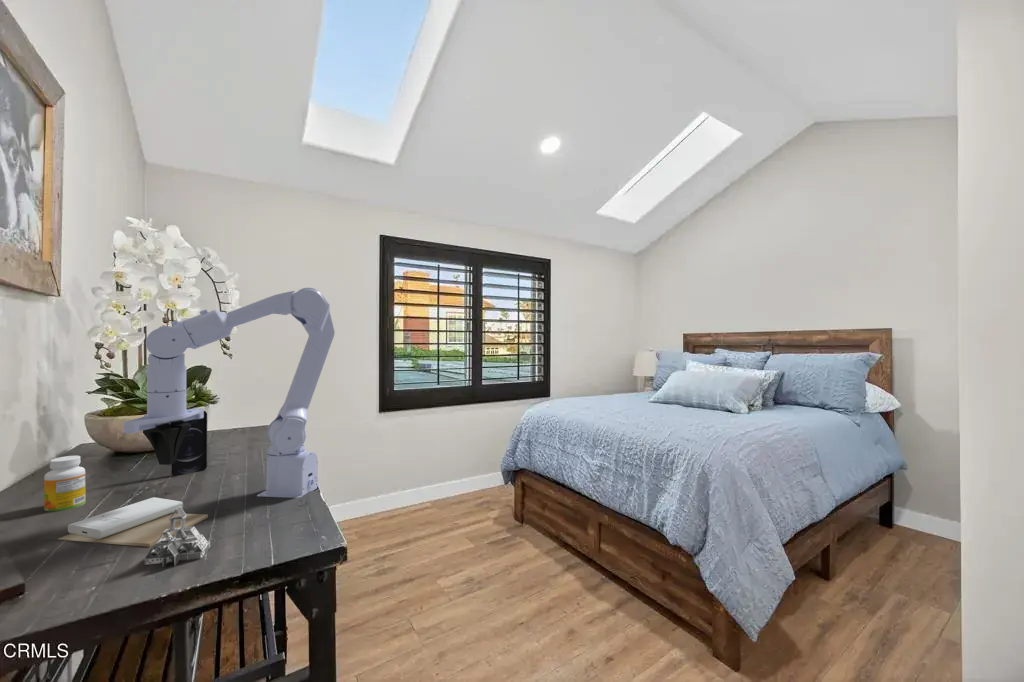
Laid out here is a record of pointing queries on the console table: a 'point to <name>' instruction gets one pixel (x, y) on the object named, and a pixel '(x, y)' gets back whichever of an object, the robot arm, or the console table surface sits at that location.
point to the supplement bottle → (64, 484)
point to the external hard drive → (124, 518)
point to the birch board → (142, 531)
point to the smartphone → (192, 449)
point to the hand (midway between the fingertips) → (167, 463)
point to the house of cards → (178, 544)
